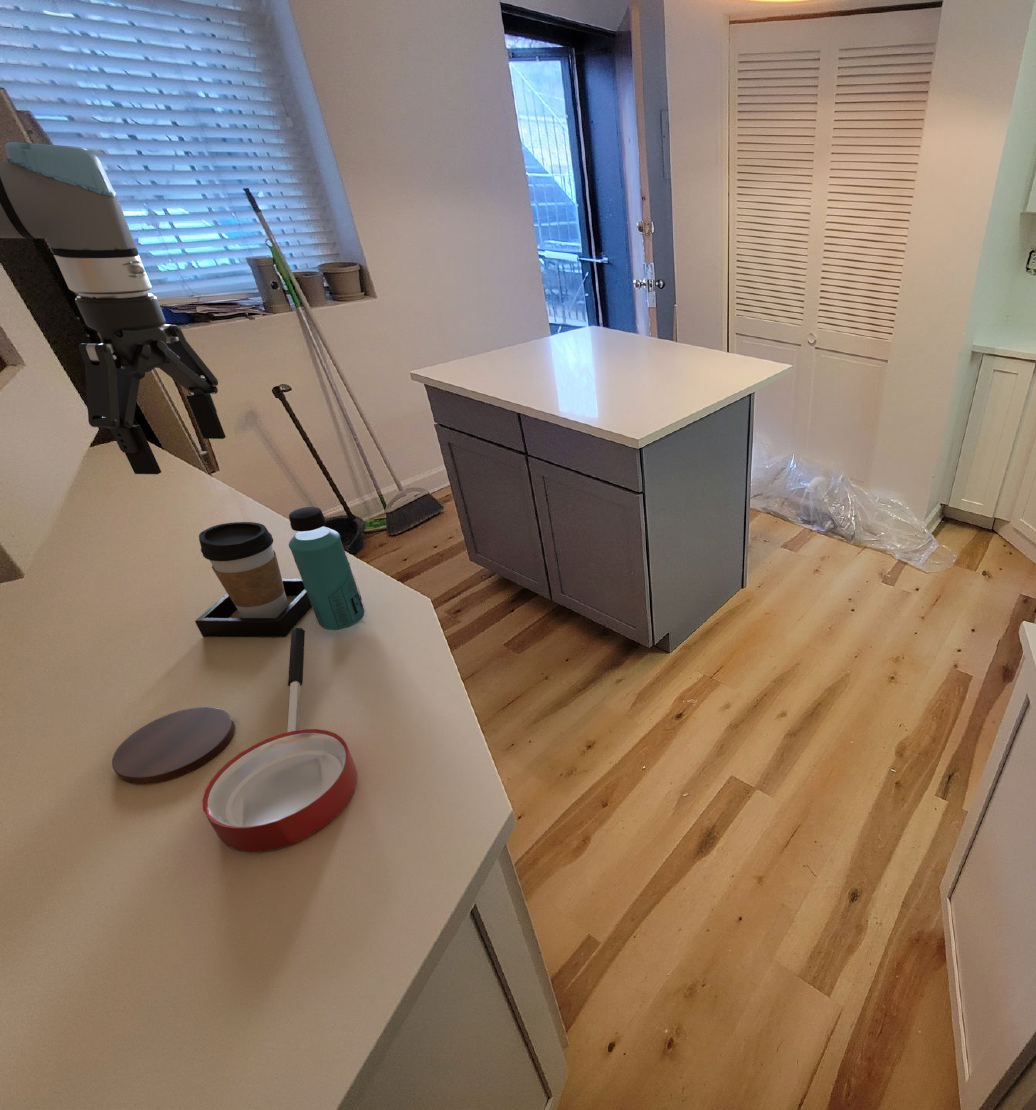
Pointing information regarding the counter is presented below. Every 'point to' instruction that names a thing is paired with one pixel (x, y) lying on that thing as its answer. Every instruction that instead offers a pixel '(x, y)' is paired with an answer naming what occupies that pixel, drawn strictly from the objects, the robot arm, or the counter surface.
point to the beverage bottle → (324, 570)
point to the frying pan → (282, 780)
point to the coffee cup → (246, 567)
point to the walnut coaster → (173, 745)
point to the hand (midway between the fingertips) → (183, 454)
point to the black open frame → (221, 625)
